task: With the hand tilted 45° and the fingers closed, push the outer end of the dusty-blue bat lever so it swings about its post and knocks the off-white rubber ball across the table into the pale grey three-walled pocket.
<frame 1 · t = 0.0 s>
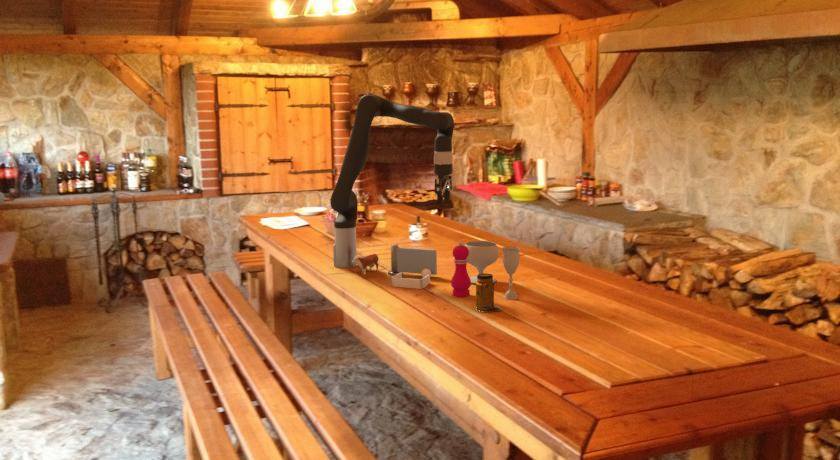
hand: (443, 202, 289), 29 cm above the table, tool pointing down, fingers open, 8 cm apart
ball: (426, 278, 286), on the table
condiment: (487, 309, 242), on the table
bull figurine: (366, 273, 296), on the table
pepper mill: (461, 295, 260), on the table
chalice: (510, 298, 255), on the table
lever base: (395, 273, 294), on the table
paddle: (413, 259, 290), point 7 cm above the table, hinge at 0.0°
pocket: (411, 284, 276), on the table
chalice 2: (480, 281, 280), on the table
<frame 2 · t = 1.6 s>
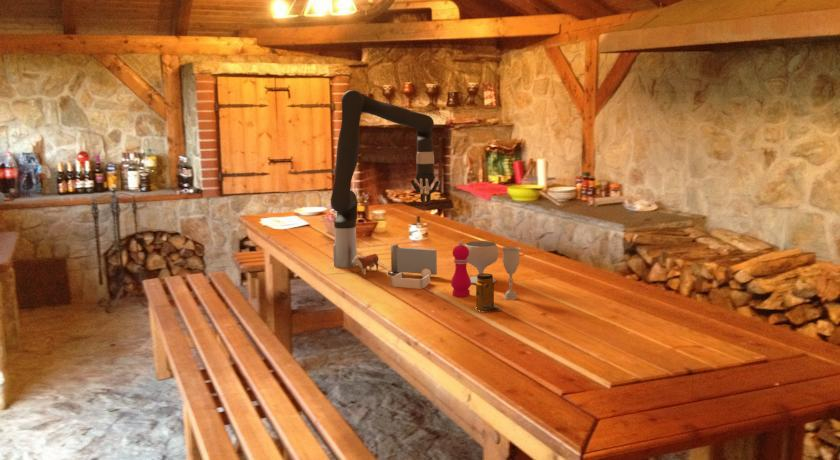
hand: (425, 202, 306), 27 cm above the table, tool pointing down, fingers closed
nothing on the table moved.
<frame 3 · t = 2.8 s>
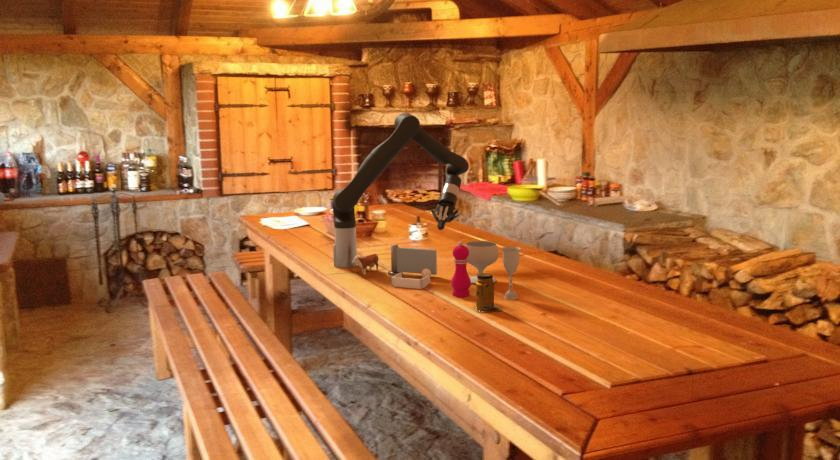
hand: (440, 229, 301), 17 cm above the table, tool tilted 45°, fingers closed
nothing on the table moved.
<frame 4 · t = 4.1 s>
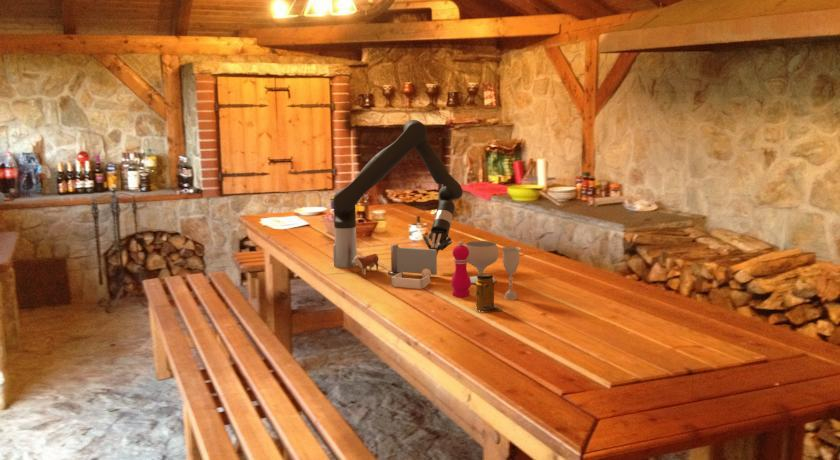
hand: (432, 257, 294), 6 cm above the table, tool tilted 45°, fingers closed
nothing on the table moved.
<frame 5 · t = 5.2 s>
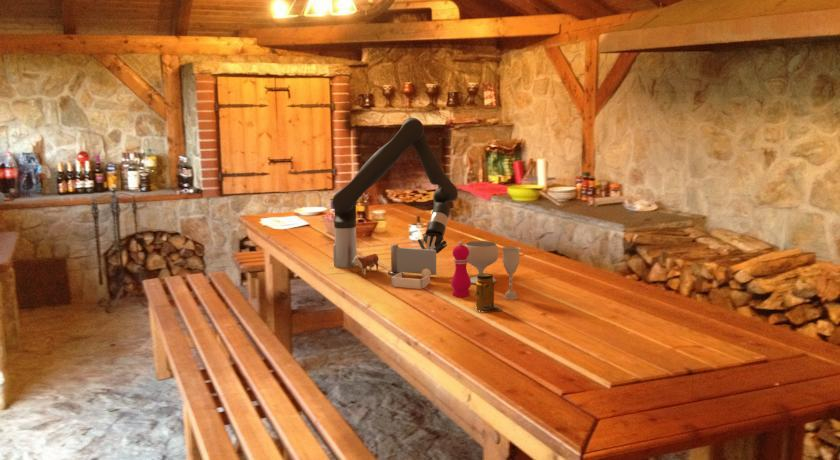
hand: (427, 260, 289), 6 cm above the table, tool tilted 45°, fingers closed
ball: (426, 278, 286), on the table, touching paddle
paddle: (413, 259, 290), point 7 cm above the table, hinge at -2.0°, touching ball, gripper
everything else where it was.
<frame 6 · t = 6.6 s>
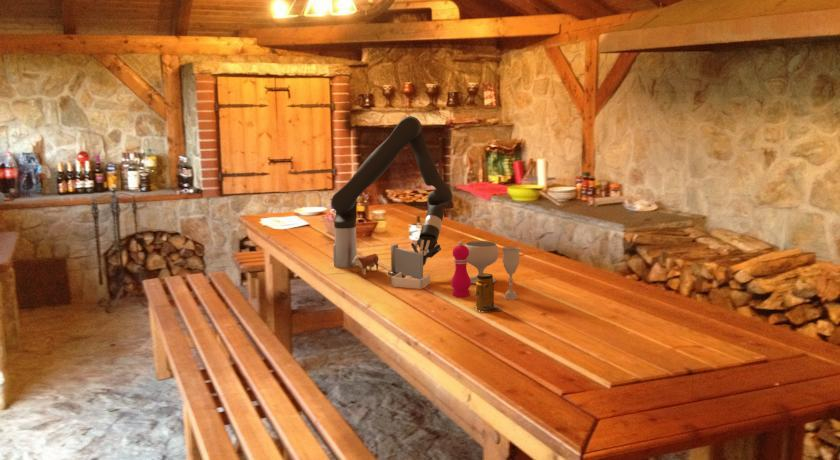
hand: (420, 265, 282), 6 cm above the table, tool tilted 45°, fingers closed
ball: (409, 285, 275), on the table, tilted 20°
paddle: (406, 261, 286), point 7 cm above the table, hinge at -31.3°, touching gripper
everything else where it was.
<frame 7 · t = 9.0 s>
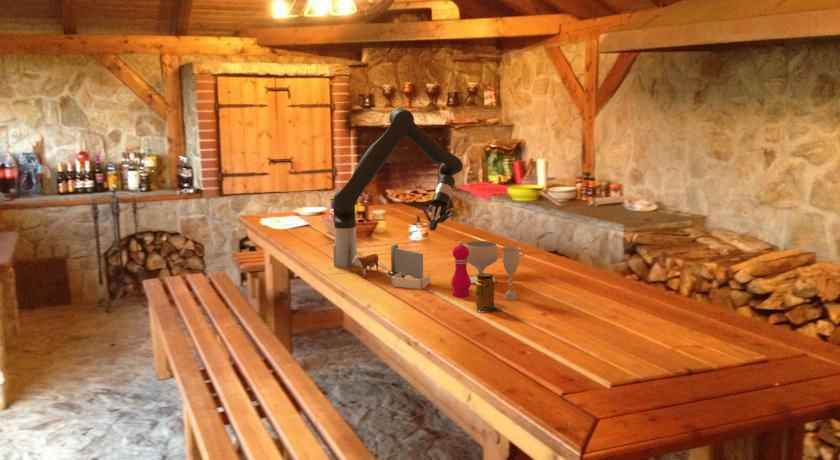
hand: (432, 229, 297), 17 cm above the table, tool tilted 45°, fingers closed
ball: (409, 285, 275), on the table, tilted 7°
paddle: (406, 261, 286), point 7 cm above the table, hinge at -31.5°
everything else where it was.
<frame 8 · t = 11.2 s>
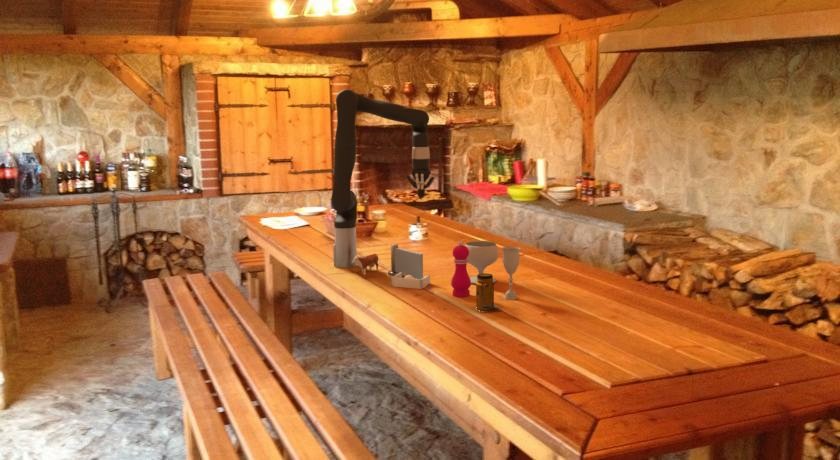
hand: (421, 197, 307), 29 cm above the table, tool pointing down, fingers closed
at the end: ball inside the target area on the pocket (1.2 cm from its centre), point 0.0 cm above the pocket's base; paddle at -32° (first picture: +0°) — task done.
